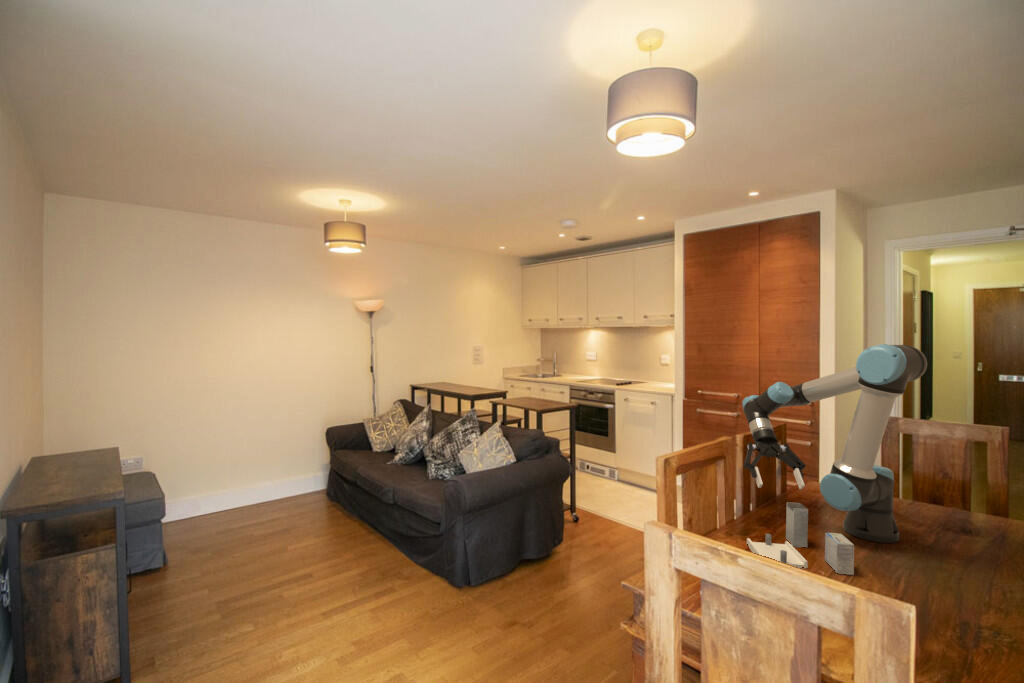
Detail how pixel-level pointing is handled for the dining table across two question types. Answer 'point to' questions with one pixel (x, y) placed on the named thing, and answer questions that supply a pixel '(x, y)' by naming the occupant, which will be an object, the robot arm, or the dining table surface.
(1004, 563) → the dining table surface
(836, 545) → the medicine box
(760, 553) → the tray
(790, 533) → the block
